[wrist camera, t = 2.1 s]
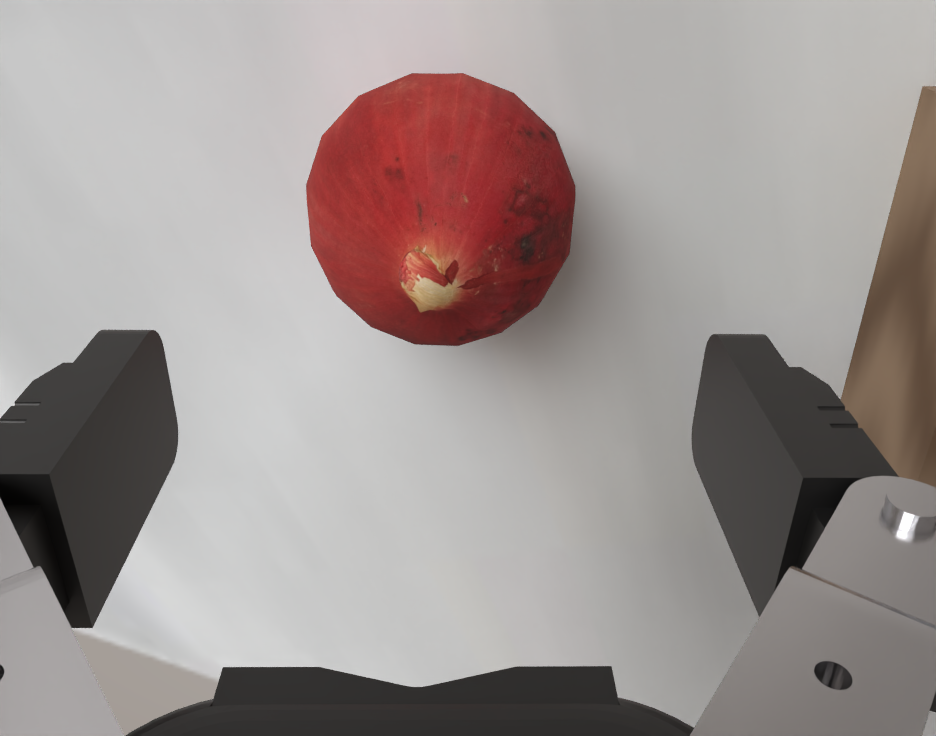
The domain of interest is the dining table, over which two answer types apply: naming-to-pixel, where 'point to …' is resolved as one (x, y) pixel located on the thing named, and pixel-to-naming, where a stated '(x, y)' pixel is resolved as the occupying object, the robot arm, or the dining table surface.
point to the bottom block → (903, 318)
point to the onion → (440, 208)
